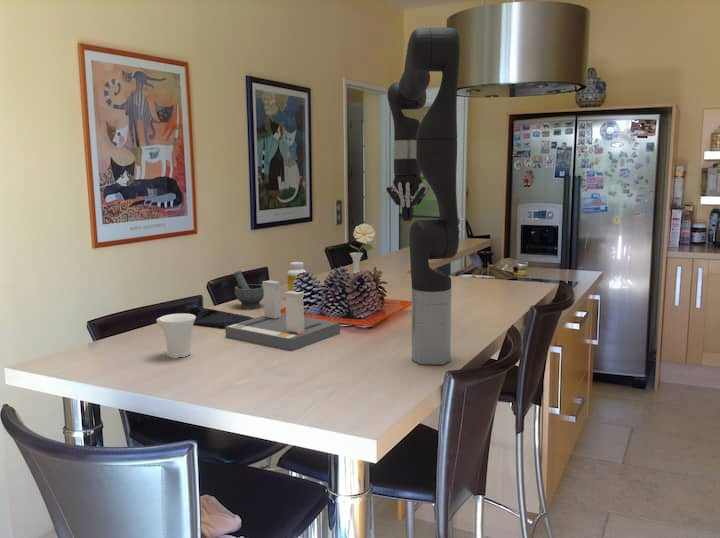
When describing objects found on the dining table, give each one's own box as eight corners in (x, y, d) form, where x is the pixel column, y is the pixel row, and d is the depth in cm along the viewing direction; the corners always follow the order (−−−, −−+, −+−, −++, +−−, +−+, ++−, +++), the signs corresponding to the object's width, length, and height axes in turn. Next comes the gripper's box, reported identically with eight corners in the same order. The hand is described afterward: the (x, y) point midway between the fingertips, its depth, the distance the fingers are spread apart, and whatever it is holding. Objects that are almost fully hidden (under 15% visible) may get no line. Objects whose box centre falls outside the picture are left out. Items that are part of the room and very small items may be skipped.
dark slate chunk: (223, 333, 178) (222, 316, 177) (171, 323, 190) (170, 308, 189) (260, 321, 190) (259, 306, 189) (209, 313, 202) (208, 298, 201)
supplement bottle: (304, 301, 216) (303, 264, 214) (285, 300, 218) (284, 264, 215) (309, 297, 223) (308, 261, 221) (291, 296, 224) (290, 261, 222)
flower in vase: (338, 292, 231) (336, 224, 227) (346, 286, 242) (344, 221, 238) (372, 293, 228) (371, 224, 224) (379, 287, 239) (378, 222, 235)
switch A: (292, 328, 167) (290, 290, 165) (305, 330, 164) (304, 292, 162) (285, 330, 164) (284, 292, 163) (298, 333, 162) (297, 294, 160)
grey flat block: (275, 322, 187) (275, 311, 187) (339, 333, 174) (339, 321, 173) (225, 337, 171) (225, 325, 171) (292, 350, 158) (291, 338, 157)
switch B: (269, 314, 183) (268, 280, 181) (281, 316, 180) (280, 281, 178) (263, 316, 180) (262, 281, 179) (275, 318, 178) (274, 283, 176)
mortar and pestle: (271, 305, 210) (269, 270, 208) (253, 311, 202) (251, 274, 200) (245, 302, 215) (243, 268, 213) (226, 308, 207) (224, 272, 205)
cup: (157, 353, 157) (155, 314, 156) (195, 349, 161) (193, 310, 159) (159, 363, 149) (157, 322, 148) (199, 358, 152) (197, 318, 151)
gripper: (379, 158, 173) (380, 221, 175) (421, 156, 165) (421, 222, 168) (394, 158, 179) (394, 219, 181) (435, 157, 171) (435, 220, 174)
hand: (407, 220), depth 174 cm, fingers closed
